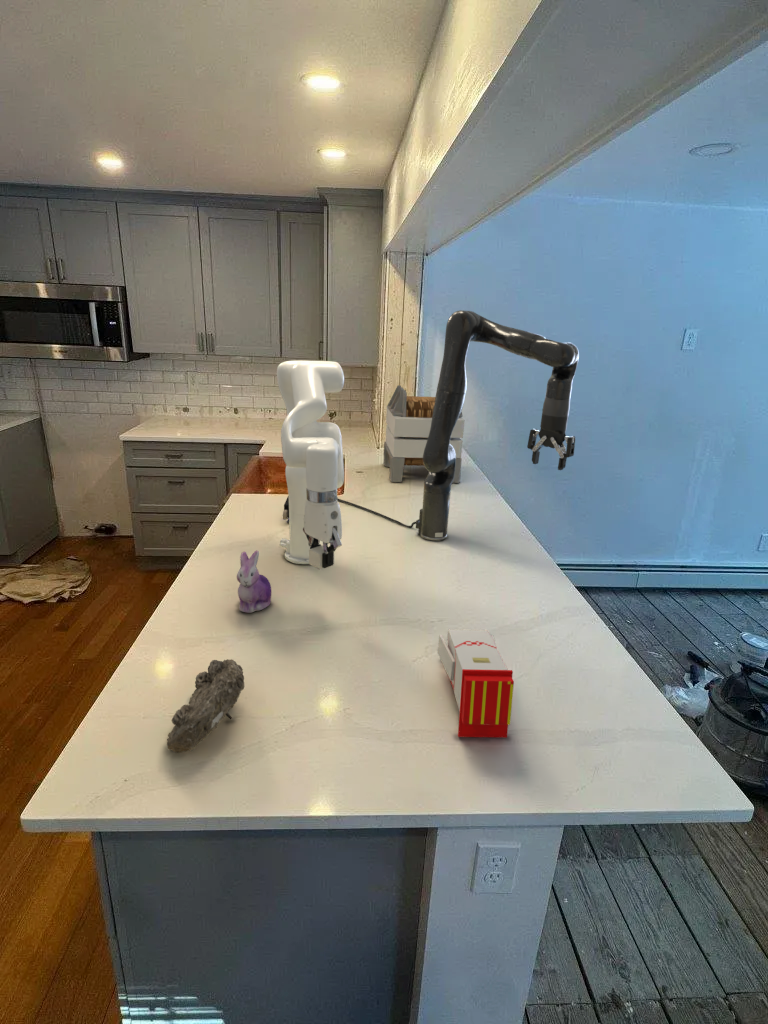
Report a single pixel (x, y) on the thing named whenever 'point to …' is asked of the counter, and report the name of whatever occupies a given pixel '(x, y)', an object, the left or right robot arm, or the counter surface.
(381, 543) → the counter surface
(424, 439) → the white wooden crate
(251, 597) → the figurine
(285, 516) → the figurine character
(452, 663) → the toy
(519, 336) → the right robot arm
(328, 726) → the counter surface
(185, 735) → the fossil
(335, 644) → the counter surface
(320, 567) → the block
